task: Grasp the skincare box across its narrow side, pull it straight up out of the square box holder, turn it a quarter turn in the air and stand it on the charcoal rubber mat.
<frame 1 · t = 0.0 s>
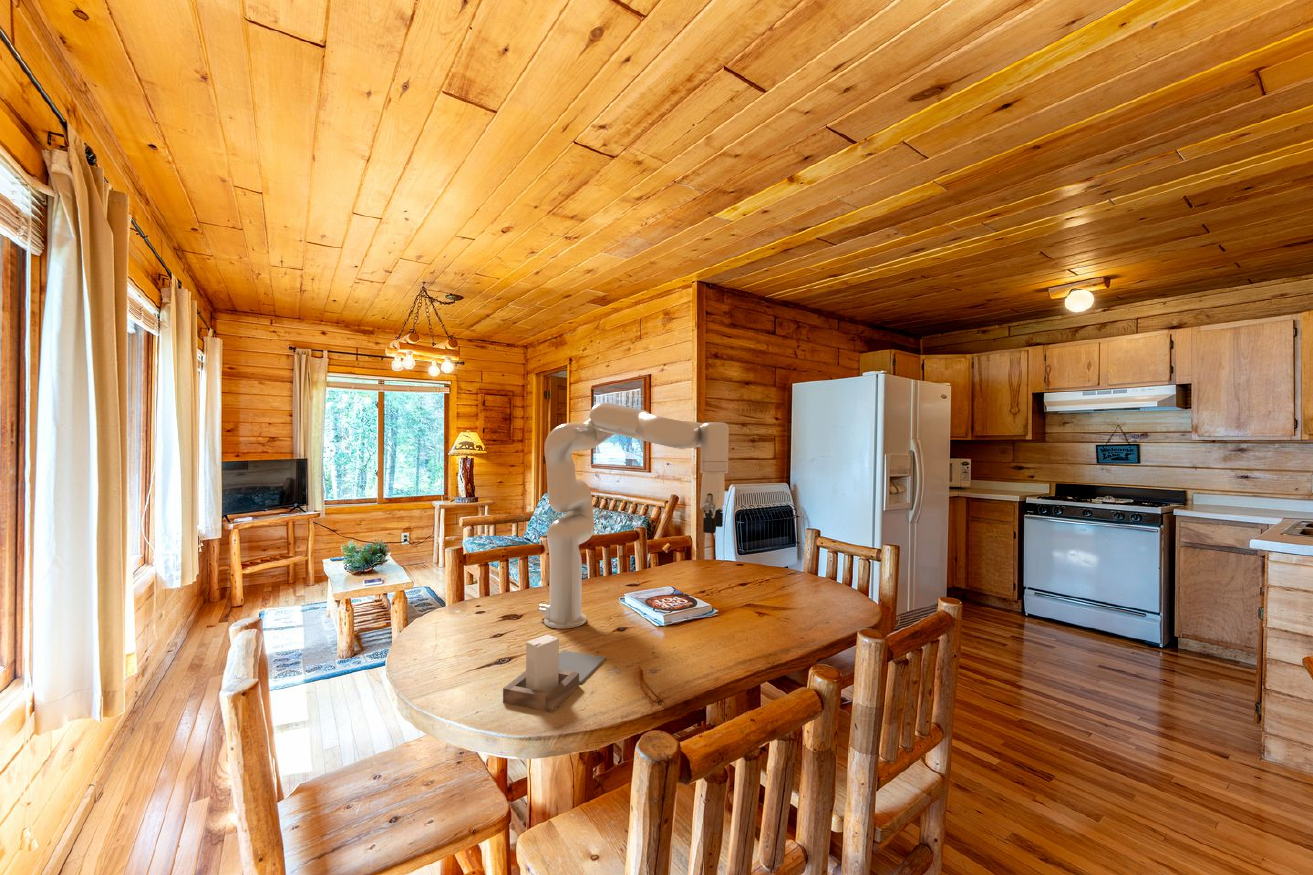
hand: (713, 529, 148), 31 cm above the table, tool pointing down, fingers open, 9 cm apart
square box holder: (542, 693, 119), on the table
skincare box: (542, 694, 119), resting in square box holder
rubber mat: (571, 667, 133), on the table
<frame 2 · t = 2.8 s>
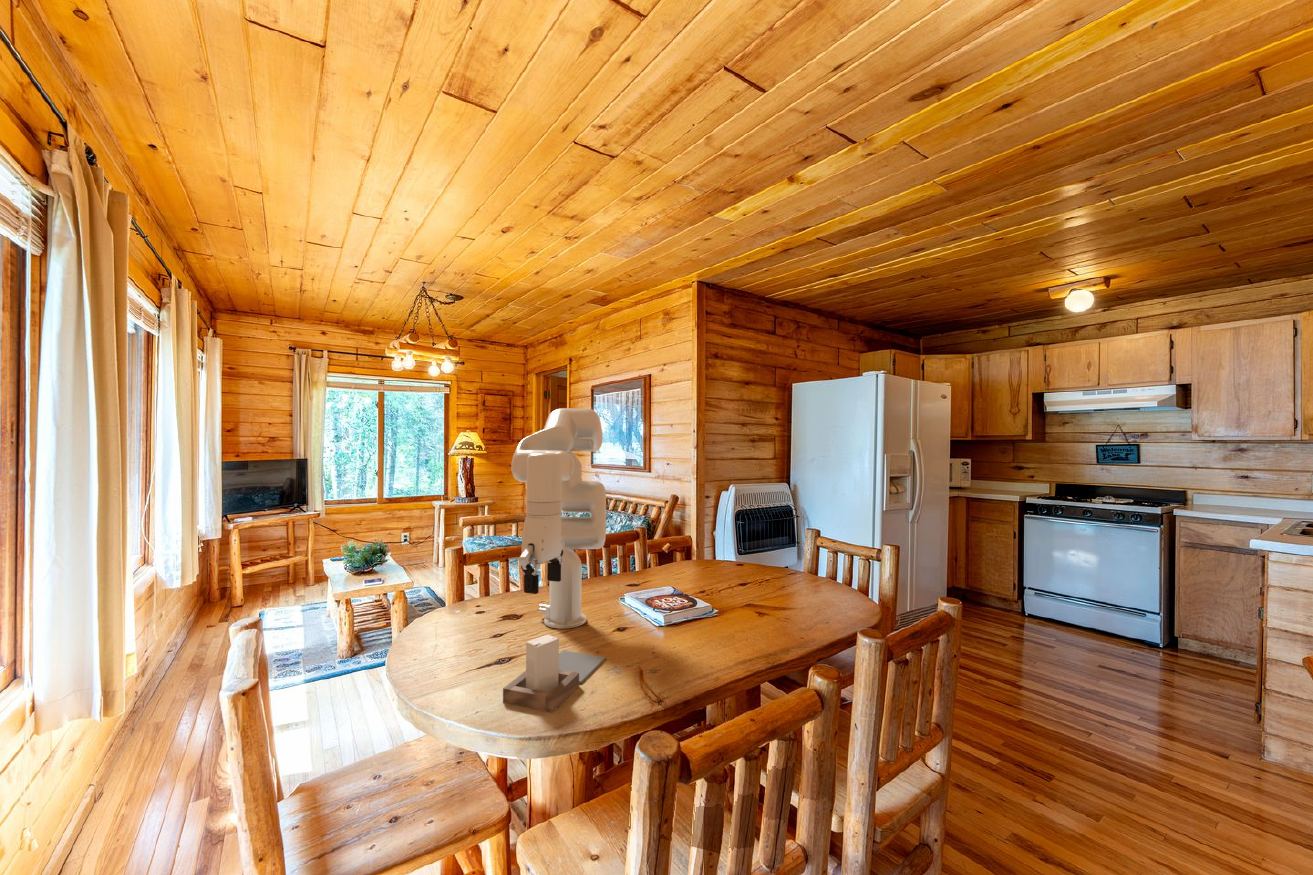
hand: (543, 586, 119), 24 cm above the table, tool pointing down, fingers open, 9 cm apart
nothing on the table moved.
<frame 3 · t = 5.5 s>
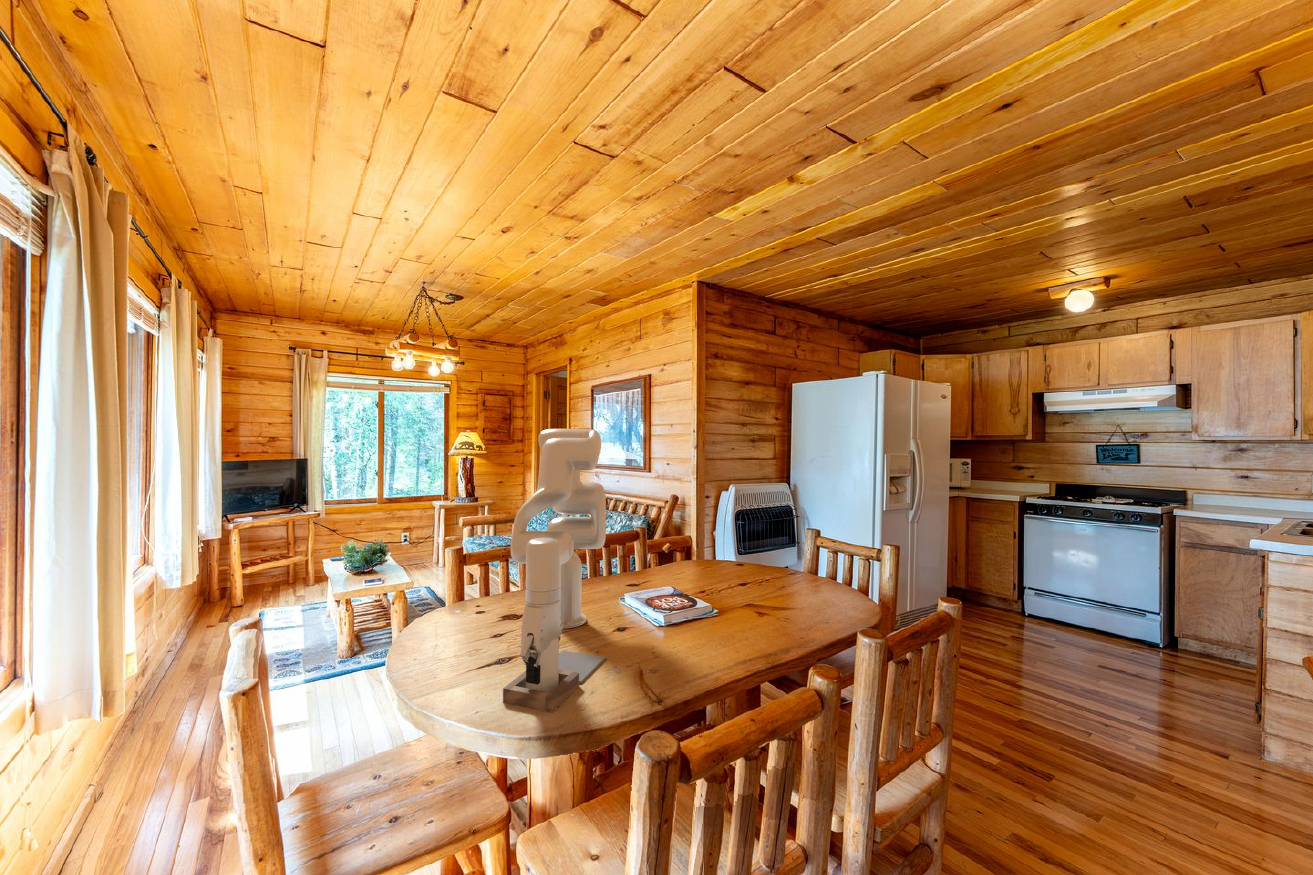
hand: (542, 674, 119), 4 cm above the table, tool pointing down, fingers closed on skincare box, 7 cm apart
skincare box: (542, 694, 119), resting in square box holder, touching gripper
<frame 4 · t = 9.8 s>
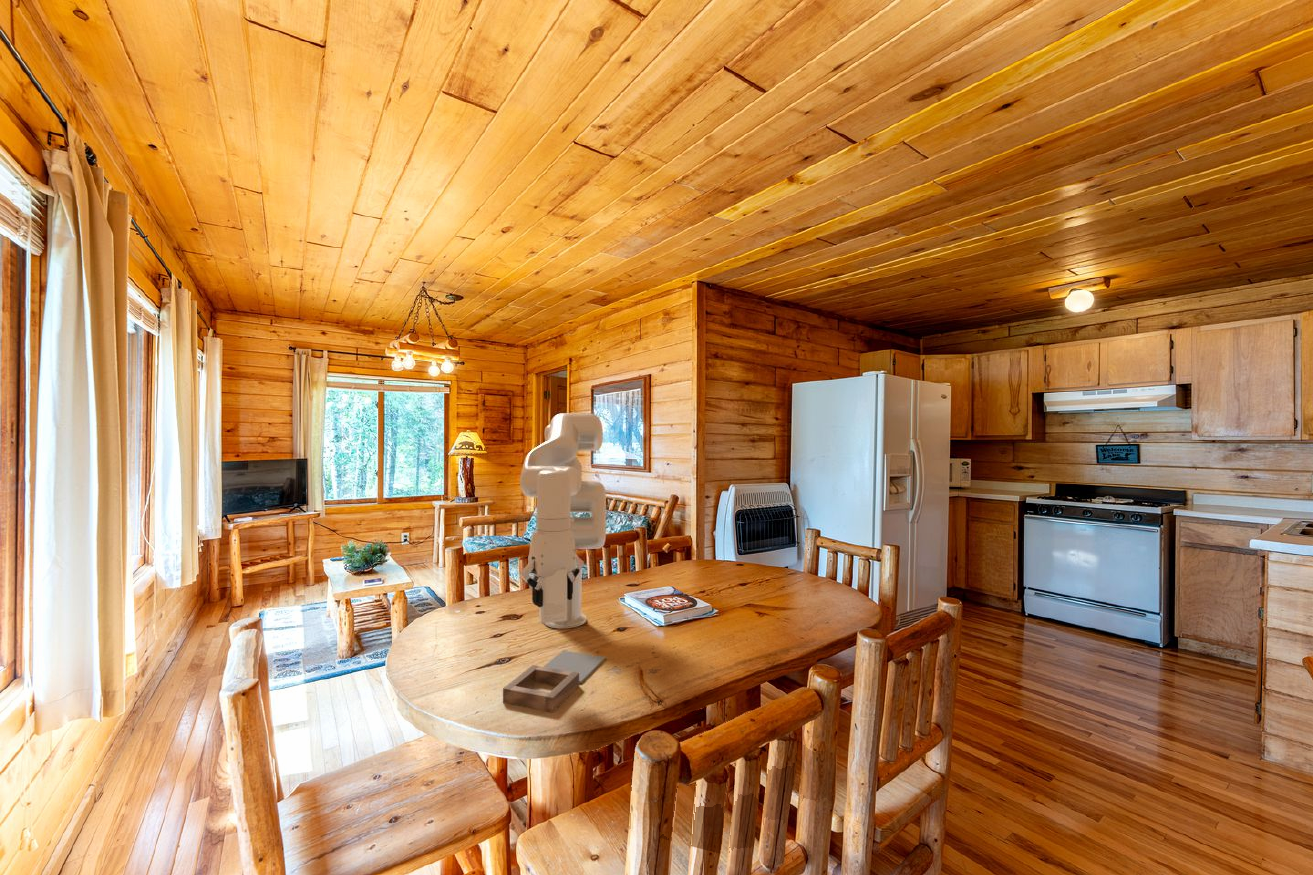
hand: (552, 601, 123), 19 cm above the table, tool pointing down, fingers closed on skincare box, 7 cm apart
skincare box: (552, 620, 124), point 15 cm above the table, touching gripper
when the fingers open (6 cm above the table, at t = 14.2 s): skincare box drops 1 cm, resting on rubber mat.
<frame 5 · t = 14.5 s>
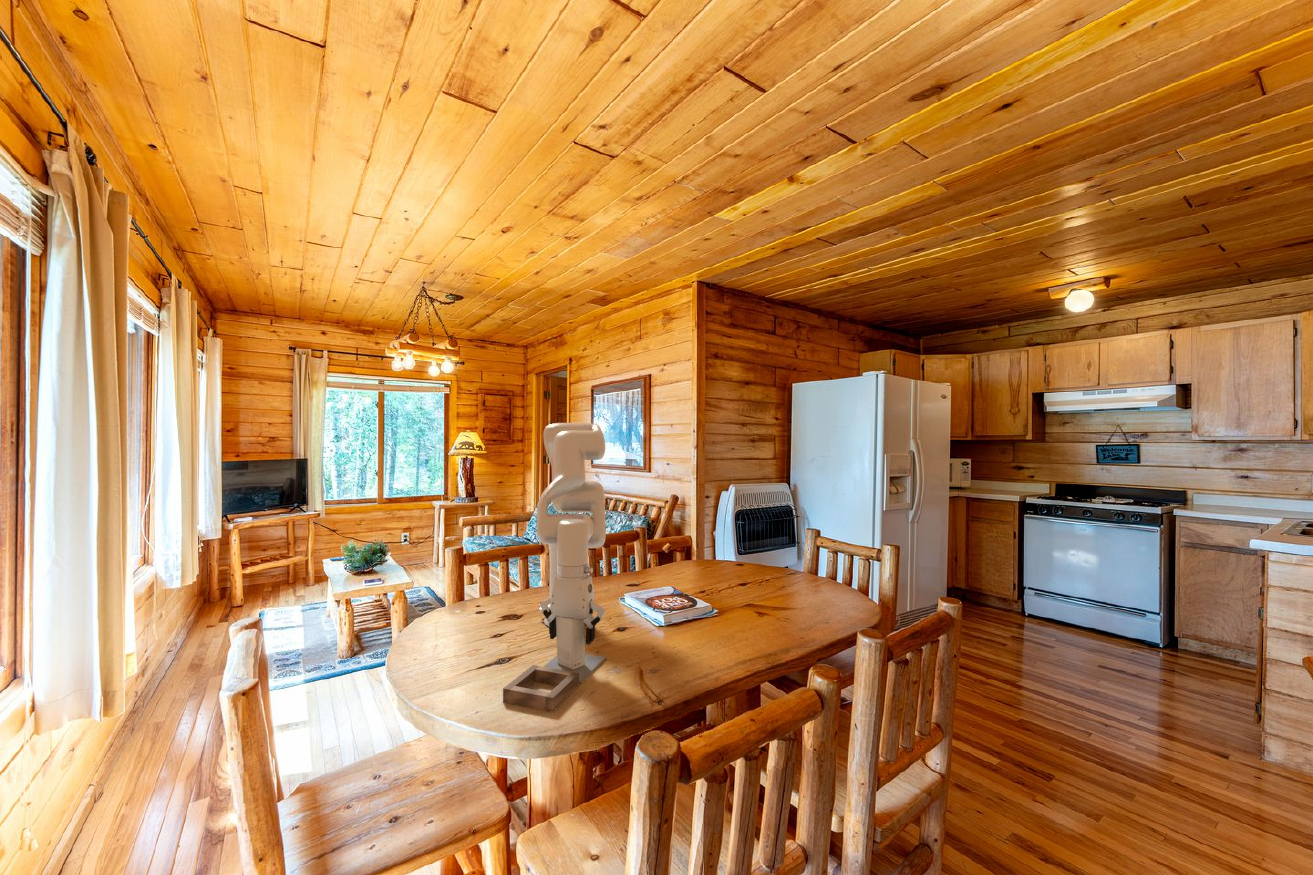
hand: (571, 639, 132), 7 cm above the table, tool pointing down, fingers open, 9 cm apart
skincare box: (570, 665, 133), resting on rubber mat
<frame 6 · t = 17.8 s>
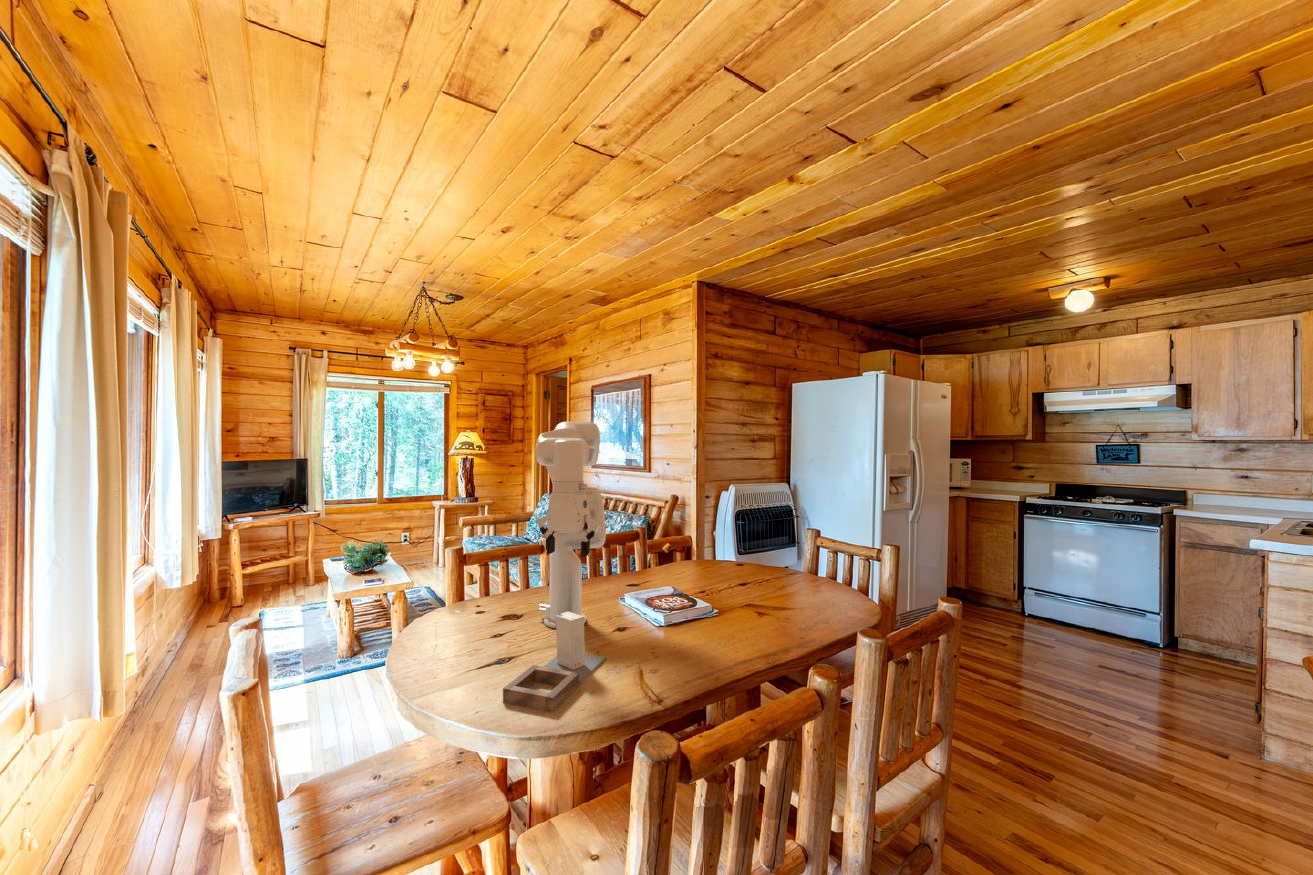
hand: (567, 554, 138), 26 cm above the table, tool pointing down, fingers open, 9 cm apart
nothing on the table moved.
at the end: skincare box inside the target area on the rubber mat (0.4 cm from its centre), point 0.4 cm above the rubber mat's base; skincare box tilted 0°; the gripper is holding nothing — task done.
